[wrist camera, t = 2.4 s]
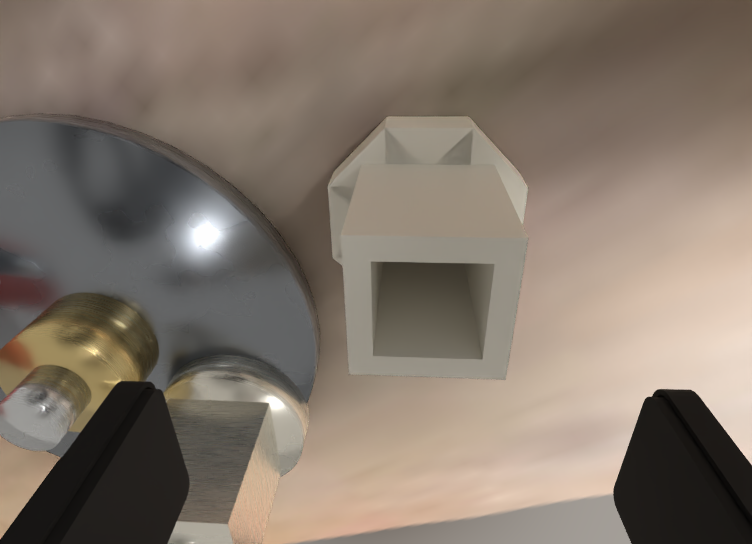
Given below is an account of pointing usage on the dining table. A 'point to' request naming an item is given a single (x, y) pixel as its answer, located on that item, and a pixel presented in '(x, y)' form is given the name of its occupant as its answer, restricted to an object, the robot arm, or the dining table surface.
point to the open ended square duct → (429, 249)
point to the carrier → (151, 311)
